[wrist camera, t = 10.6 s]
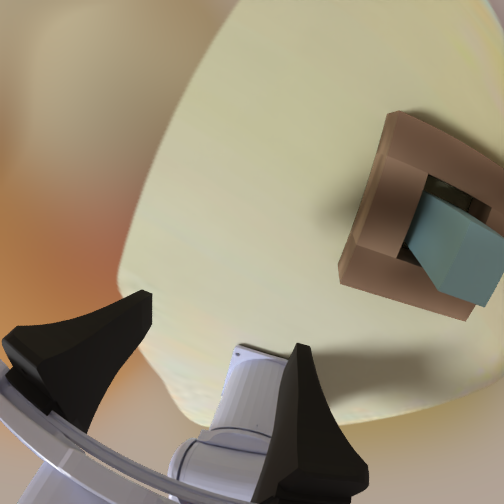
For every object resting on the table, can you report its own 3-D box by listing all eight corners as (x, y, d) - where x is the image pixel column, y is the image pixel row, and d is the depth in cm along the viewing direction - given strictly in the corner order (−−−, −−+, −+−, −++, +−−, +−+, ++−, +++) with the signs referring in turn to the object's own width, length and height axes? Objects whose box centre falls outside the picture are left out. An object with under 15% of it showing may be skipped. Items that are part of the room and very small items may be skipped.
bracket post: (440, 252, 19) (484, 307, 11) (401, 237, 19) (438, 291, 12) (459, 207, 17) (515, 246, 10) (419, 188, 17) (471, 220, 10)
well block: (453, 302, 20) (465, 321, 17) (337, 264, 21) (340, 283, 18) (506, 178, 15) (526, 186, 12) (387, 113, 16) (399, 110, 13)
